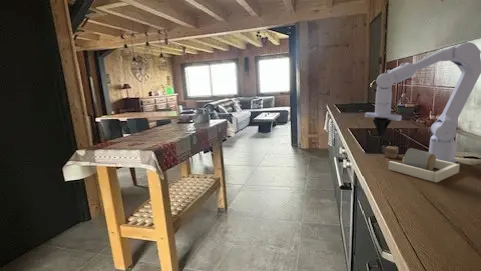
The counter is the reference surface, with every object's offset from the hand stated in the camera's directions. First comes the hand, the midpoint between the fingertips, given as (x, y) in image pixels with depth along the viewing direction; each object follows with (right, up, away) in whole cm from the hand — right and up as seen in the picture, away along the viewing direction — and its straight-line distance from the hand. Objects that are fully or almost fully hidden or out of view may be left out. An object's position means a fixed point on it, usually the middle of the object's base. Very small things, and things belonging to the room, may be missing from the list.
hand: (380, 135), depth 110 cm
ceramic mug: (+7, -13, -13) cm, 19 cm away
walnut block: (+6, -9, +3) cm, 11 cm away
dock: (+7, -13, -15) cm, 21 cm away
